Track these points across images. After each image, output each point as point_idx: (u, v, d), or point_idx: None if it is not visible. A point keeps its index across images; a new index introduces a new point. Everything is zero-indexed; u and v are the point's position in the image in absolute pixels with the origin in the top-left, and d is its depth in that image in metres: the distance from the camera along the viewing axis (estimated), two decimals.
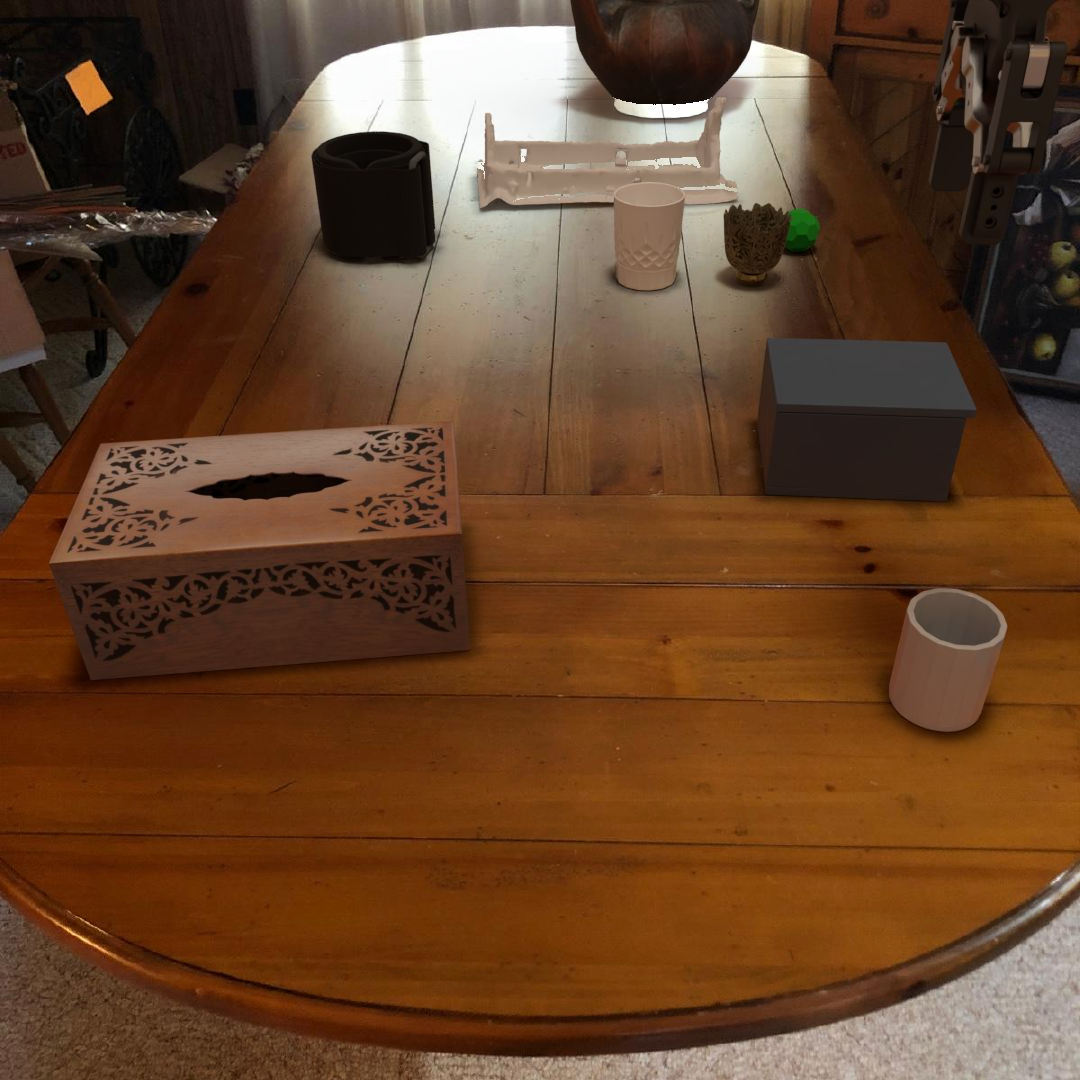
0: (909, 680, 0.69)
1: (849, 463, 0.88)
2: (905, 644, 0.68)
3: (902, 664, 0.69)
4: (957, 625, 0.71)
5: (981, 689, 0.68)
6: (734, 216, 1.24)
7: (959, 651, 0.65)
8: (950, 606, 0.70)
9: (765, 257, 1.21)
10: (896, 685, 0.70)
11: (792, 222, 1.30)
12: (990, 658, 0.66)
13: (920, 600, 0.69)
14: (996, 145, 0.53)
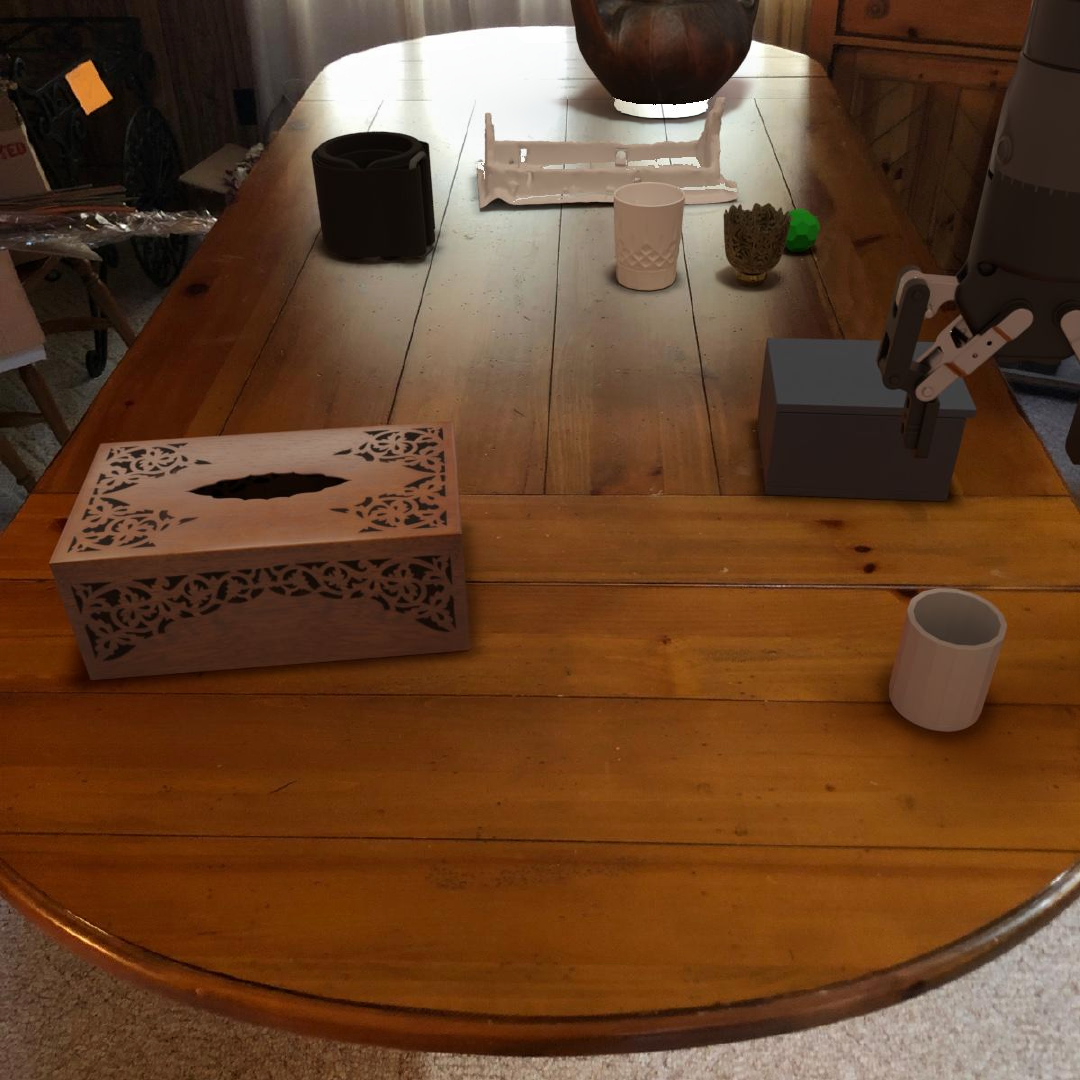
0: (909, 680, 0.69)
1: (849, 463, 0.88)
2: (905, 644, 0.68)
3: (902, 664, 0.69)
4: (957, 625, 0.71)
5: (981, 689, 0.68)
6: (734, 216, 1.24)
7: (959, 651, 0.65)
8: (950, 606, 0.70)
9: (765, 257, 1.21)
10: (896, 685, 0.70)
11: (792, 222, 1.30)
12: (990, 658, 0.66)
13: (920, 600, 0.69)
14: None
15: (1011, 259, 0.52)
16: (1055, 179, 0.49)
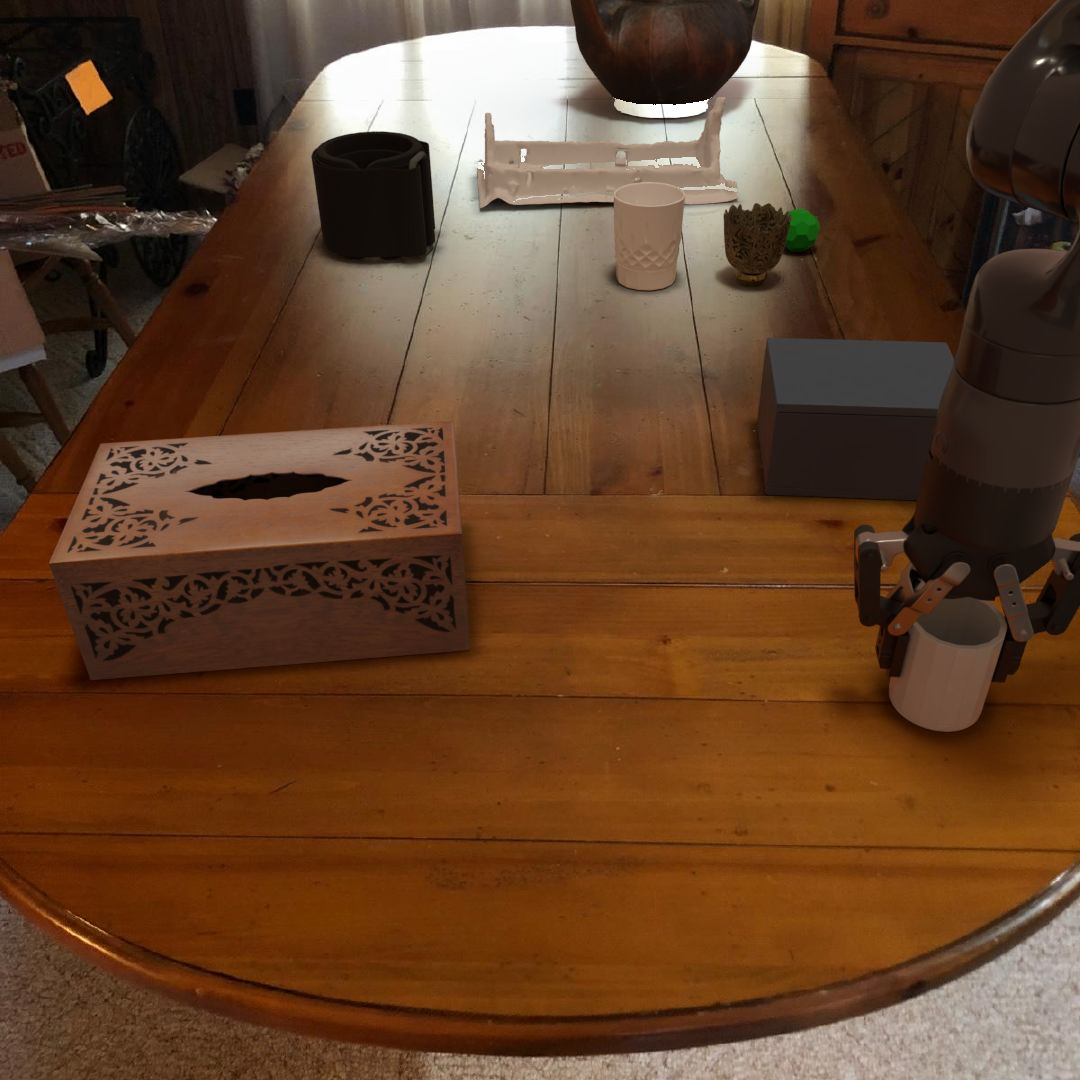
0: (909, 680, 0.69)
1: (849, 463, 0.88)
2: None
3: None
4: (957, 625, 0.71)
5: (981, 689, 0.68)
6: (734, 216, 1.24)
7: (959, 651, 0.65)
8: (950, 606, 0.70)
9: (765, 257, 1.21)
10: (896, 685, 0.70)
11: (792, 222, 1.30)
12: (990, 658, 0.66)
13: None
14: None
15: (949, 529, 0.60)
16: (983, 475, 0.58)
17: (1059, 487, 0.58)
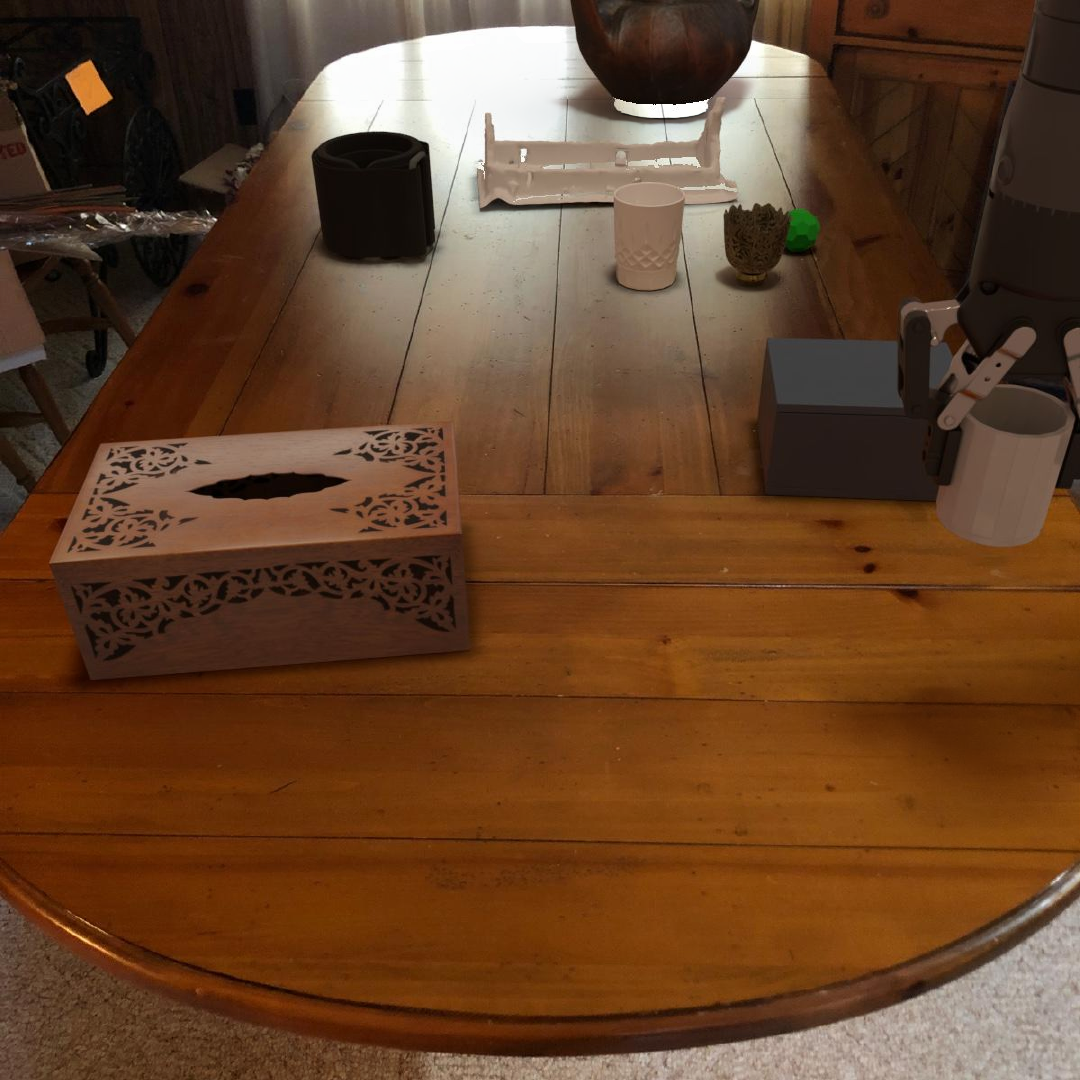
0: (961, 487, 0.60)
1: (849, 463, 0.88)
2: None
3: None
4: (1014, 430, 0.62)
5: (1045, 493, 0.59)
6: (734, 216, 1.24)
7: (1022, 441, 0.56)
8: (1006, 406, 0.61)
9: (765, 257, 1.21)
10: (945, 497, 0.61)
11: (792, 222, 1.30)
12: (1056, 451, 0.57)
13: None
14: None
15: (1013, 278, 0.52)
16: (1057, 199, 0.49)
17: None
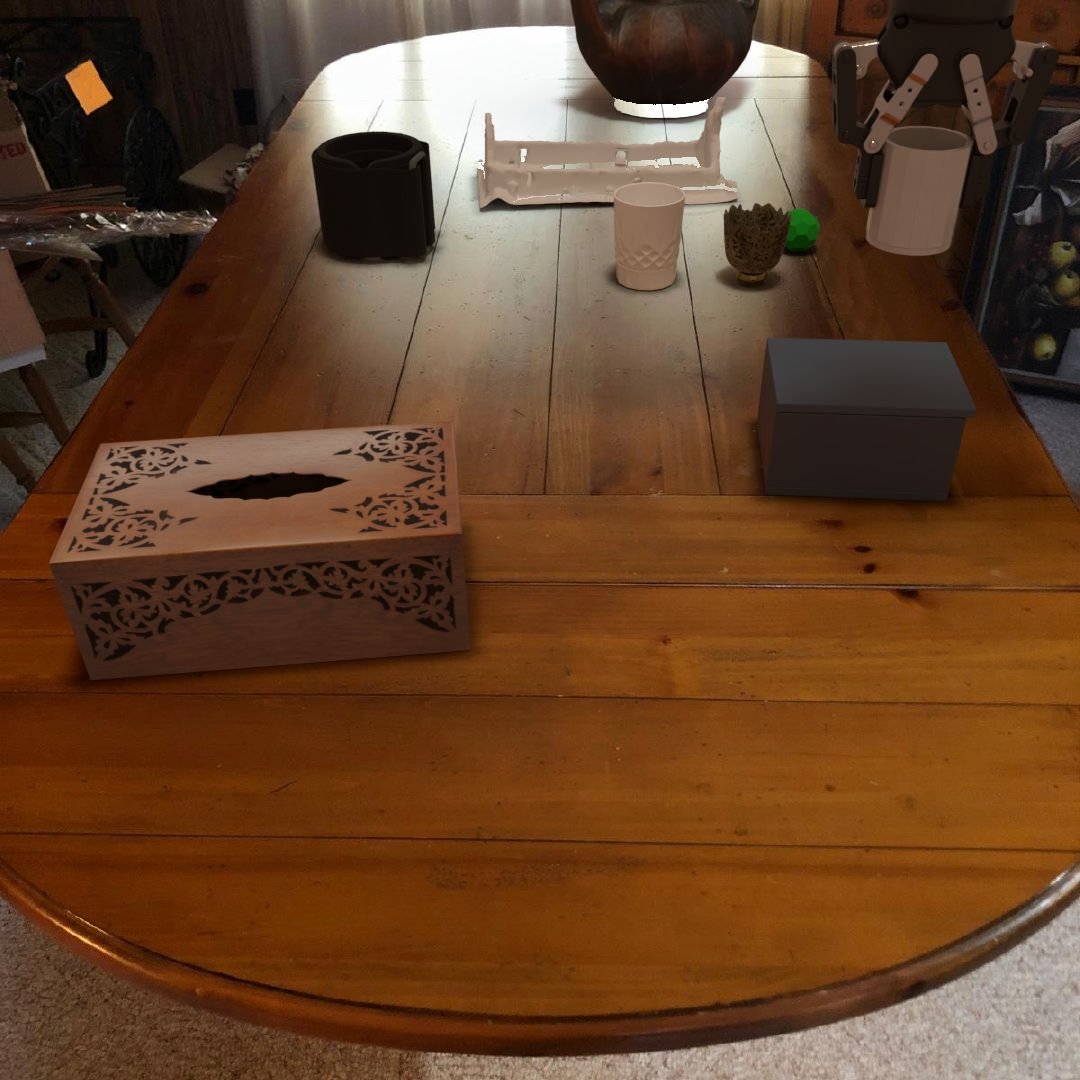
0: (884, 205, 0.74)
1: (849, 463, 0.88)
2: None
3: None
4: None
5: (950, 206, 0.73)
6: (734, 216, 1.24)
7: (929, 155, 0.71)
8: (921, 144, 0.76)
9: (765, 257, 1.21)
10: (872, 219, 0.76)
11: (792, 222, 1.30)
12: (958, 166, 0.72)
13: (893, 133, 0.75)
14: (1030, 123, 0.71)
15: (918, 7, 0.66)
16: None
17: None
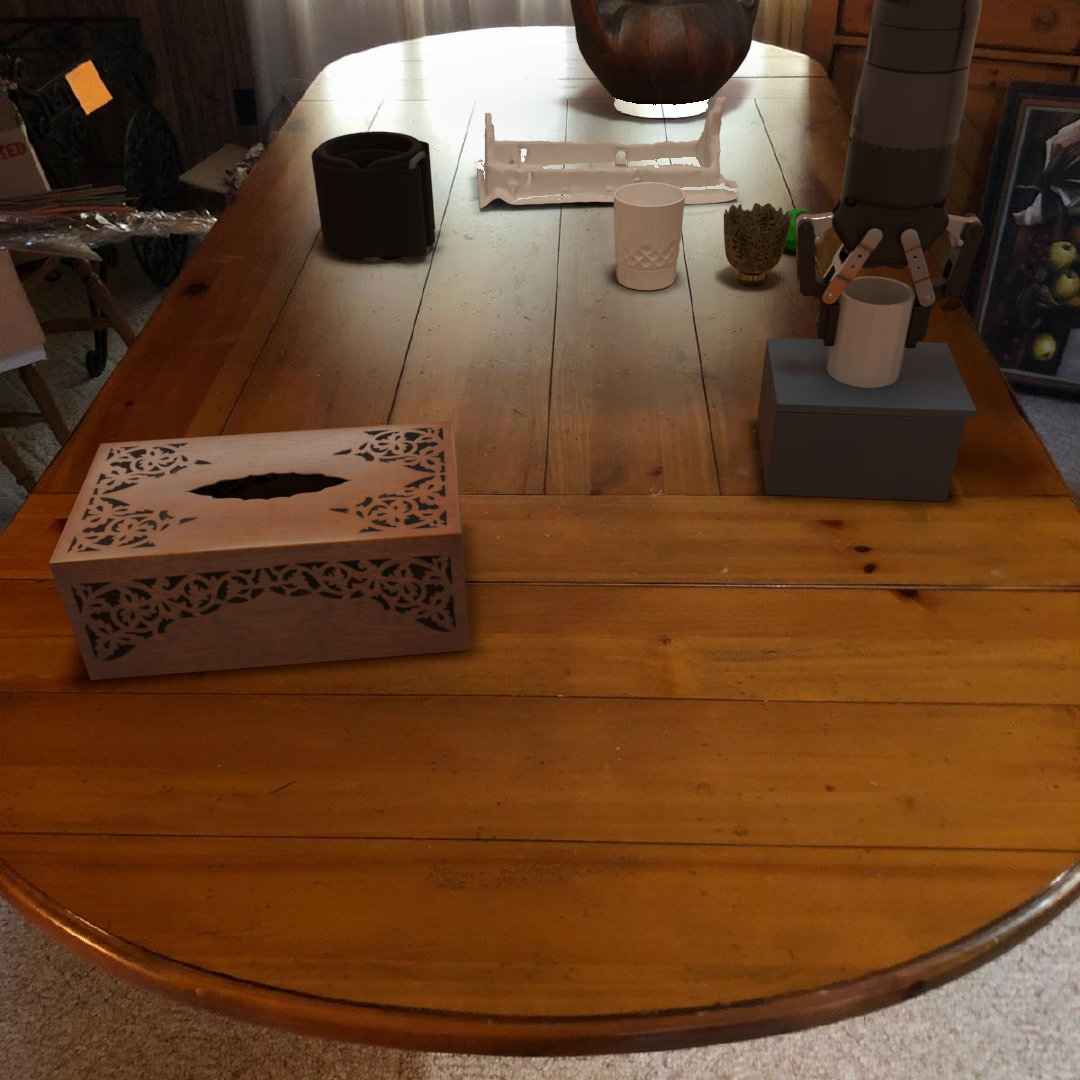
0: (840, 345, 0.87)
1: (849, 463, 0.88)
2: None
3: (835, 334, 0.87)
4: None
5: (896, 348, 0.86)
6: (734, 216, 1.24)
7: (876, 309, 0.83)
8: (874, 291, 0.88)
9: (765, 257, 1.21)
10: (831, 355, 0.88)
11: (792, 222, 1.30)
12: (901, 317, 0.84)
13: (849, 283, 0.87)
14: (962, 282, 0.84)
15: (863, 194, 0.79)
16: (886, 140, 0.76)
17: (944, 151, 0.76)
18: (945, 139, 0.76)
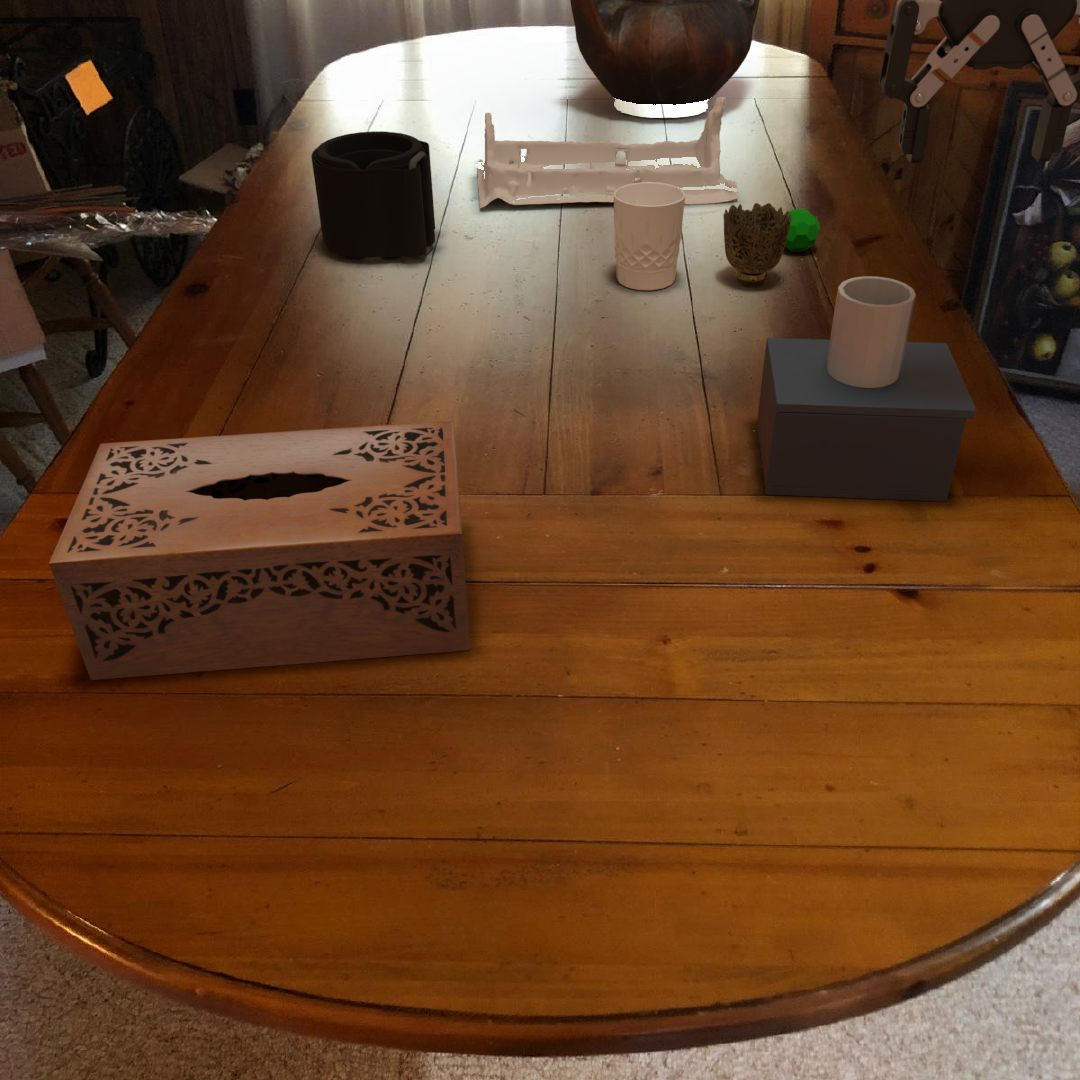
0: (840, 345, 0.87)
1: (849, 463, 0.88)
2: (837, 315, 0.86)
3: (835, 334, 0.87)
4: None
5: (896, 348, 0.86)
6: (734, 216, 1.24)
7: (876, 309, 0.83)
8: (874, 291, 0.88)
9: (765, 257, 1.21)
10: (831, 355, 0.88)
11: (792, 222, 1.30)
12: (901, 317, 0.84)
13: (849, 283, 0.87)
14: None
15: None
16: None
17: None
18: None
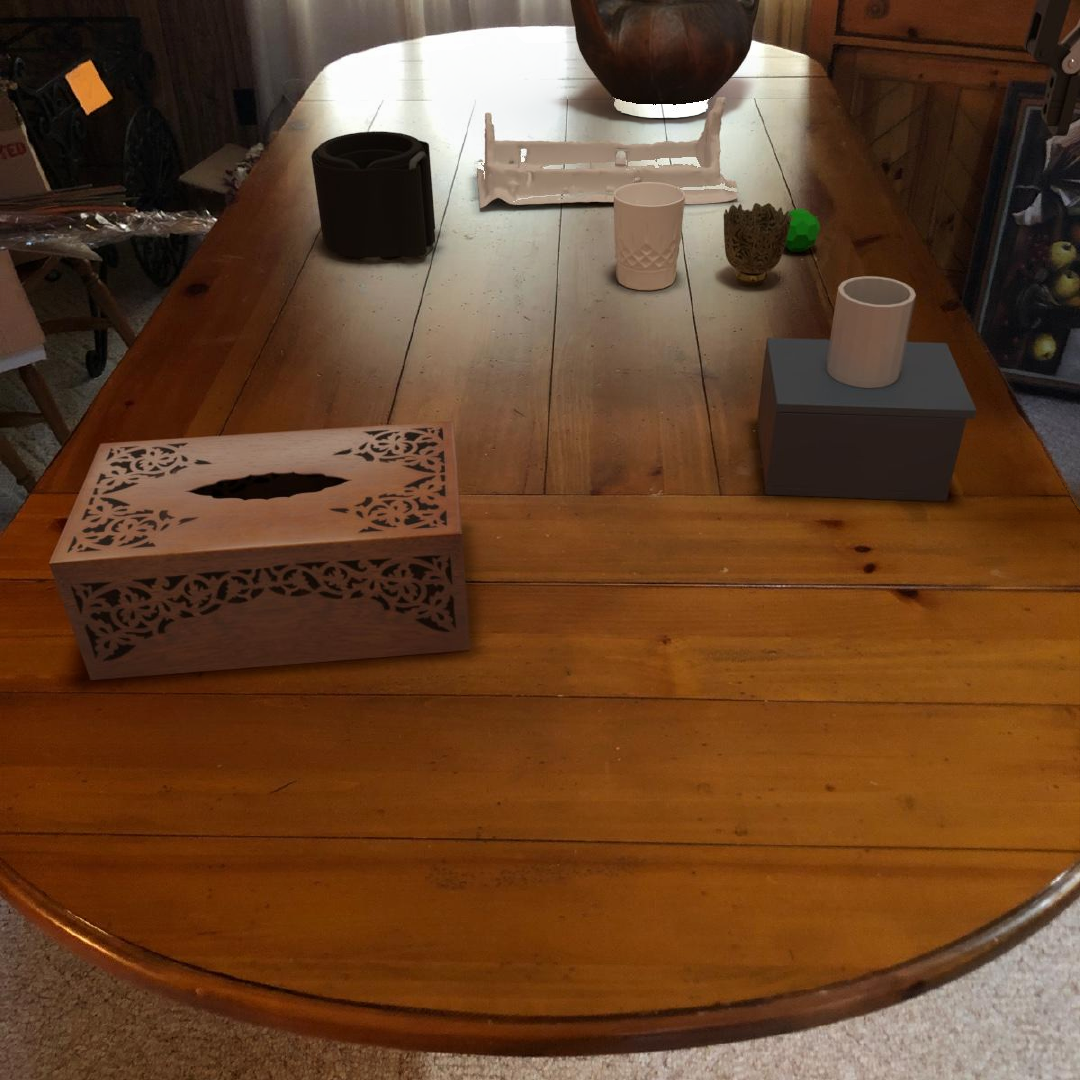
0: (840, 345, 0.87)
1: (849, 463, 0.88)
2: (837, 315, 0.86)
3: (835, 334, 0.87)
4: None
5: (896, 348, 0.86)
6: (734, 216, 1.24)
7: (876, 309, 0.83)
8: (874, 291, 0.88)
9: (765, 257, 1.21)
10: (831, 355, 0.88)
11: (792, 222, 1.30)
12: (901, 317, 0.84)
13: (849, 283, 0.87)
14: None
15: None
16: None
17: None
18: None
